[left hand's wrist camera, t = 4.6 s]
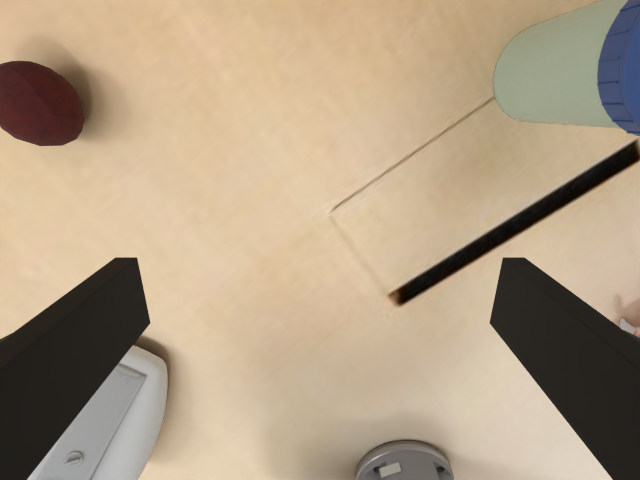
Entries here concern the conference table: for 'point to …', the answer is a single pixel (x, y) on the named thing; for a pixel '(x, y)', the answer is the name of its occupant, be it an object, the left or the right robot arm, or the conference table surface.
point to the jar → (557, 68)
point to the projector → (113, 425)
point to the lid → (622, 69)
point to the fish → (629, 327)
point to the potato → (38, 104)
